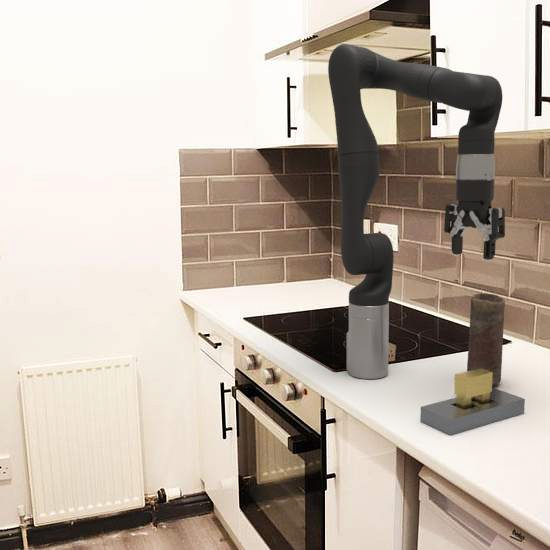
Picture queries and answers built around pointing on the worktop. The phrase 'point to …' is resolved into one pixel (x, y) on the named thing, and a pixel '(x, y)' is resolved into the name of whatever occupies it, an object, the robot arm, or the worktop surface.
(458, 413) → the grey slotted base
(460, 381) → the yellow block
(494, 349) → the brown cylinder
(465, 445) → the worktop surface
